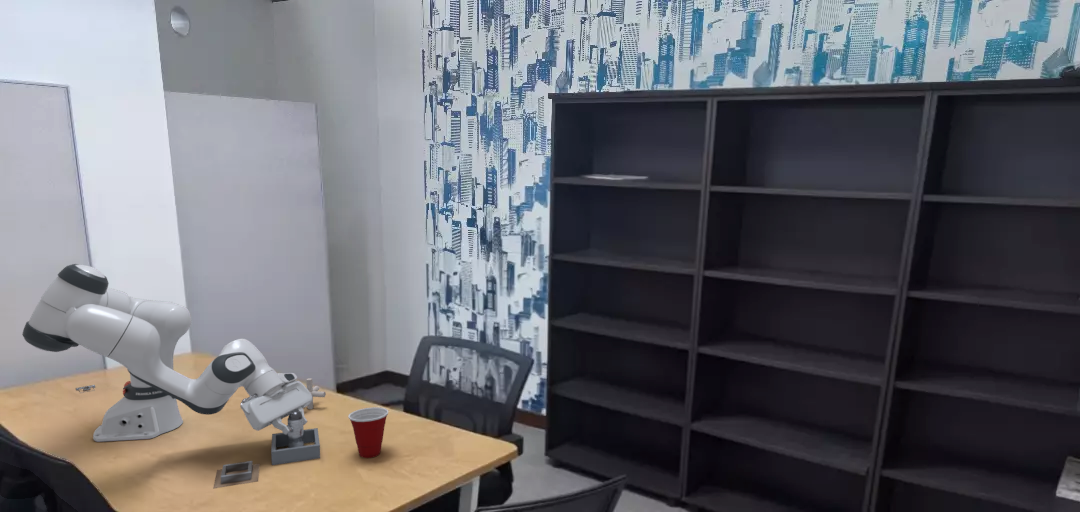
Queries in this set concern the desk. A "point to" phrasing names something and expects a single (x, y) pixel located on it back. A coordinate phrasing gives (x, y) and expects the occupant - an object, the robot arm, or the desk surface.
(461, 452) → the desk surface
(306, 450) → the bin
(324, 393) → the pipe connector
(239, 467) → the socket plate
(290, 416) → the strut
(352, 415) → the plastic cup
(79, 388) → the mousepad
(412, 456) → the desk surface
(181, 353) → the desk surface
